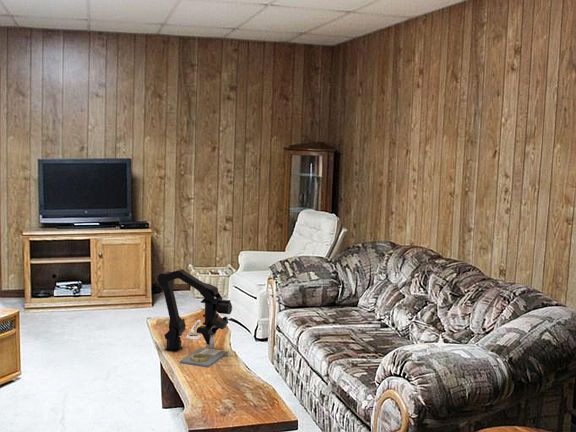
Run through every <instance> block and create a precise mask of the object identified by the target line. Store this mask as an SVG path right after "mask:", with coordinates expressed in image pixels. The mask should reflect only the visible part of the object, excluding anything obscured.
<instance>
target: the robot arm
mask: <svg viewBox="0 0 576 432" xmlns="http://www.w3.org/2000/svg"><path fill="white" fill-rule="evenodd" d="M176 279H177V280H178V279H179V280H180V281H182V282H184V283H185V284H187V285H188V286H190V287H192V288H193V289H195V290H196V291H198V292H199V294H200V295H201V296H202V297H203V299H202V300H201V301H200V303H202V304H204V314H203V315H202V317H203V318H204V322H202V324H201V325H200V326H197V327H196V333H198V334H200V335H202V337H203V339H204V341H205V343H207V344H209V343H210V337H211V334H212V333H214V338H215V337H216V333H217V331H218V330H219V329H220V330H224V329H226V327H227V325H228V324H229V320H228V319H229V318H228V317H227V315H231V313H232V311H233V305H232V302H231V300H230V299H223V297H222V295H221V294H220V292H219V289H218V287H217V286H215V285H213V284H210V283H205V282H203V281H201V280H200V279H198V278H197V277H195V276H194V275H192V274H190V273H188V272H187V271H186V270H185V269H182V268H180V269H178V270H174V271H168V270H166V271H164V272H161V273H159V274H158V275H157V278H156V280H157V283H158V285H159V287H160V289H161V290H162V291H163V295H164V299H165V303H166V307H167V313H168V316H169V322H168V331H167V332H166V333H165V334H164V338H165V340H166V347H165V349H164V350H165V351H169V352H176V353H177V352H178V351H180V350H181V349H182V348H183V347H182V339H181V336H182V335H183V333H184V332H185V330H186V327H187V324H186V322H185V321H186V320H185V318H181V316H180V314H179V309H178V305H177V301H176V300H177V299H176V296H175V292H174V291H175V290H174V285H175V280H176ZM219 314H222V315H226V316H224V317H220V316H219Z"/></svg>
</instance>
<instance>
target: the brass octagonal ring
mask: <svg viewBox="0 0 576 432" xmlns="http://www.w3.org/2000/svg"><path fill="white" fill-rule="evenodd" d="M197 357H203V358H197ZM190 360H191V361H193V362H206V361H208V360H209V356H208V355H207V354H203V353H198V354H193V355H191V356H190Z"/></svg>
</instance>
